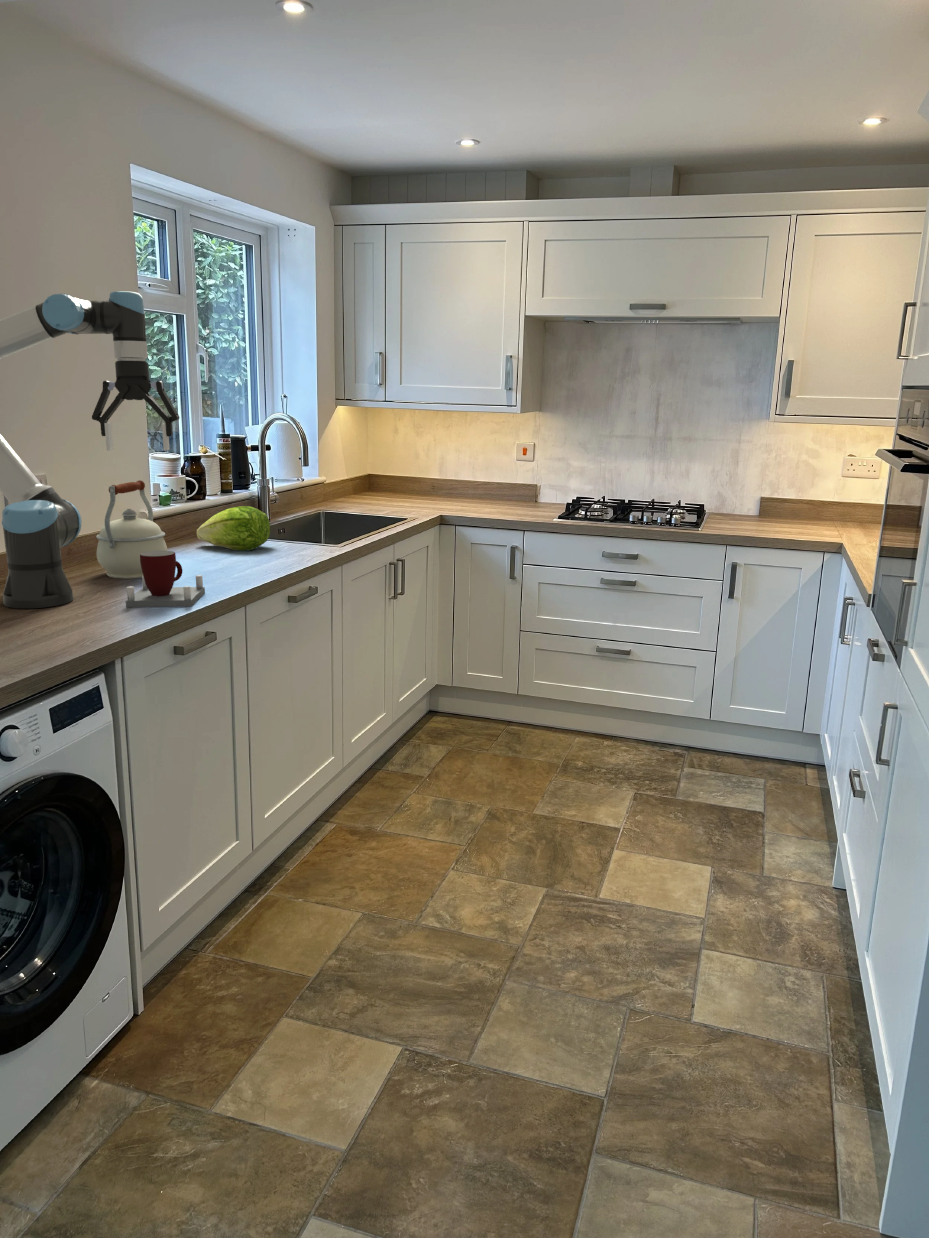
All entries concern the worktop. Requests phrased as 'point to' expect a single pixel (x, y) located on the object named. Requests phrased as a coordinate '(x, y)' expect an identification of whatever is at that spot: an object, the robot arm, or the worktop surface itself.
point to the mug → (160, 571)
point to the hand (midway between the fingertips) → (138, 450)
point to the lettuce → (236, 528)
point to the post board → (175, 599)
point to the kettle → (127, 536)
